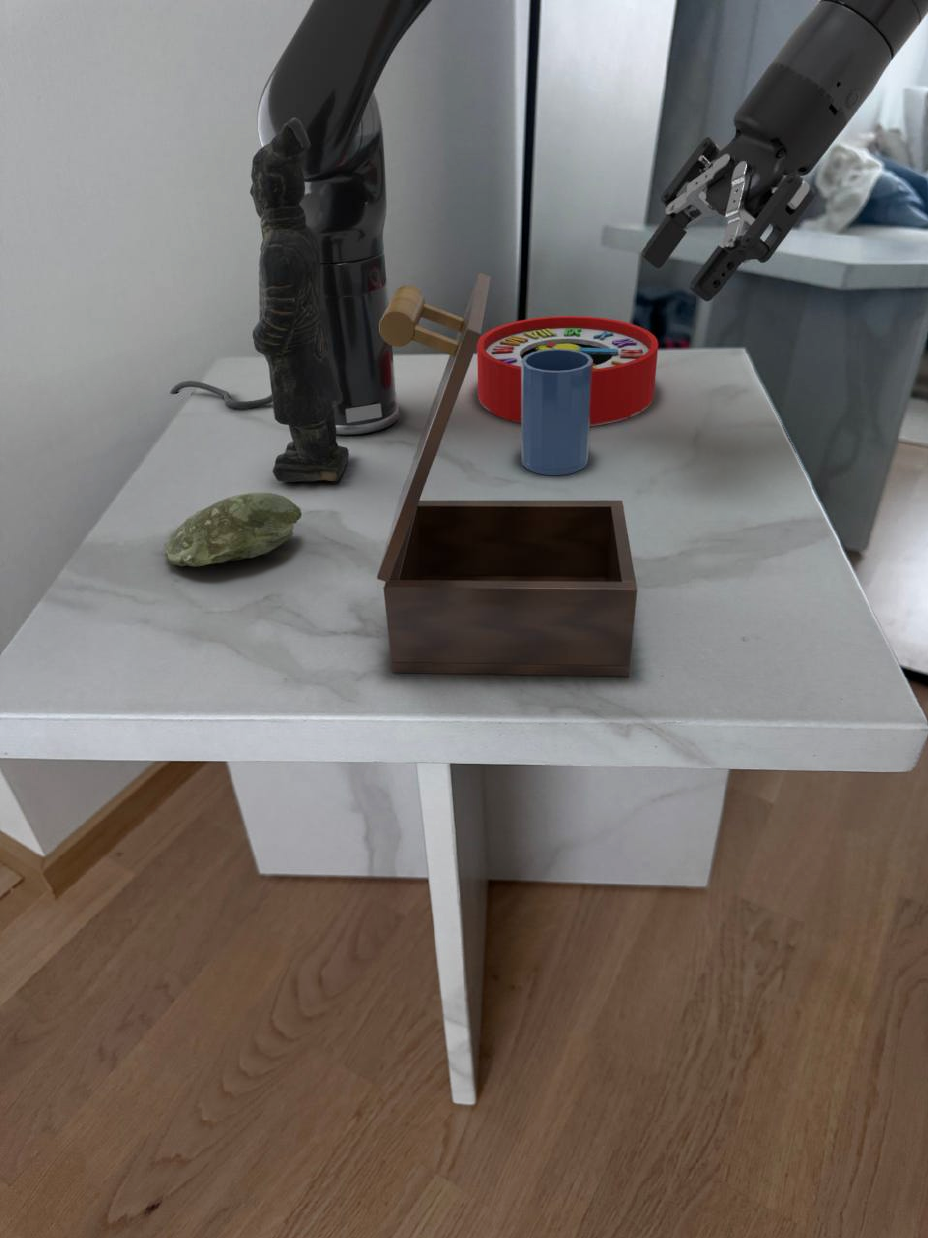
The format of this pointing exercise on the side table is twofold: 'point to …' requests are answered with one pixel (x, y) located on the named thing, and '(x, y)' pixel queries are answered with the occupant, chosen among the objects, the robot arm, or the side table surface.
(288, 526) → the green rounded rock
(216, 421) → the side table surface
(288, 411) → the statue
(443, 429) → the dish box lid
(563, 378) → the cup
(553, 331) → the toy clock
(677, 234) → the robot arm
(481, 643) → the box
